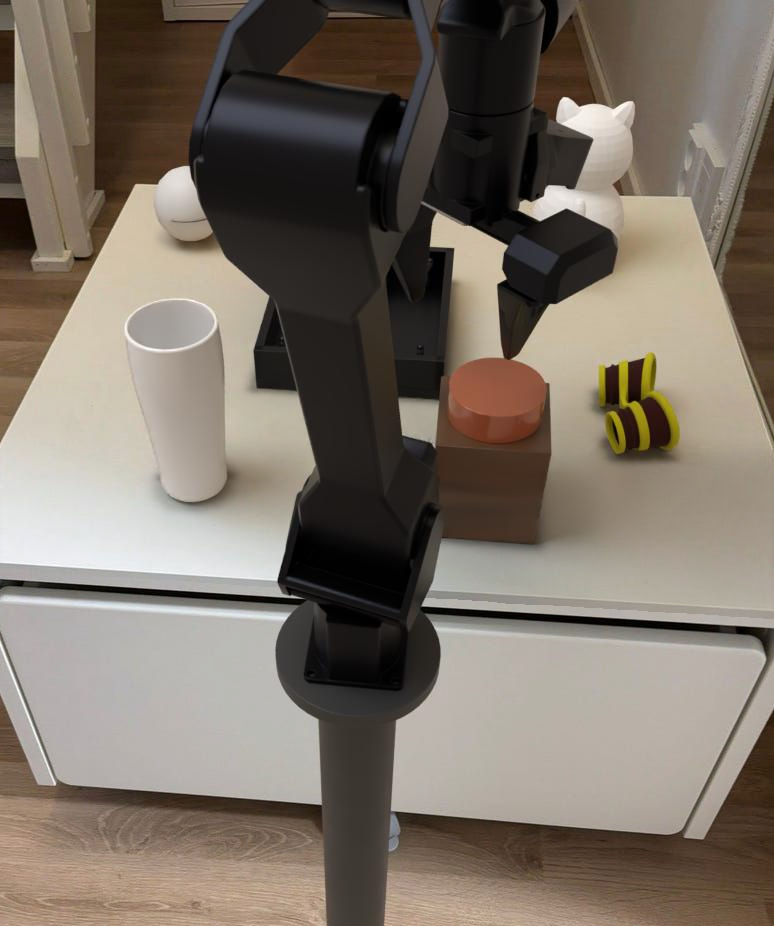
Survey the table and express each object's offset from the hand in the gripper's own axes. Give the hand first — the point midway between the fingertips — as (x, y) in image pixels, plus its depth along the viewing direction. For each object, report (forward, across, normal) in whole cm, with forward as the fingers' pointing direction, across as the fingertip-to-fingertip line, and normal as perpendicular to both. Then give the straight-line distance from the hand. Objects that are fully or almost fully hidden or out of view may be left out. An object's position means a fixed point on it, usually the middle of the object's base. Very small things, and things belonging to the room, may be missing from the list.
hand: (462, 327), depth 71 cm
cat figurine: (+15, +16, -33) cm, 40 cm away
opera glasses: (+15, -5, -17) cm, 23 cm away
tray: (+15, +20, -9) cm, 27 cm away
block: (+15, -3, -1) cm, 15 cm away
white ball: (+15, +45, -8) cm, 48 cm away
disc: (+6, -3, -1) cm, 7 cm away
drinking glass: (+15, +14, +15) cm, 25 cm away
